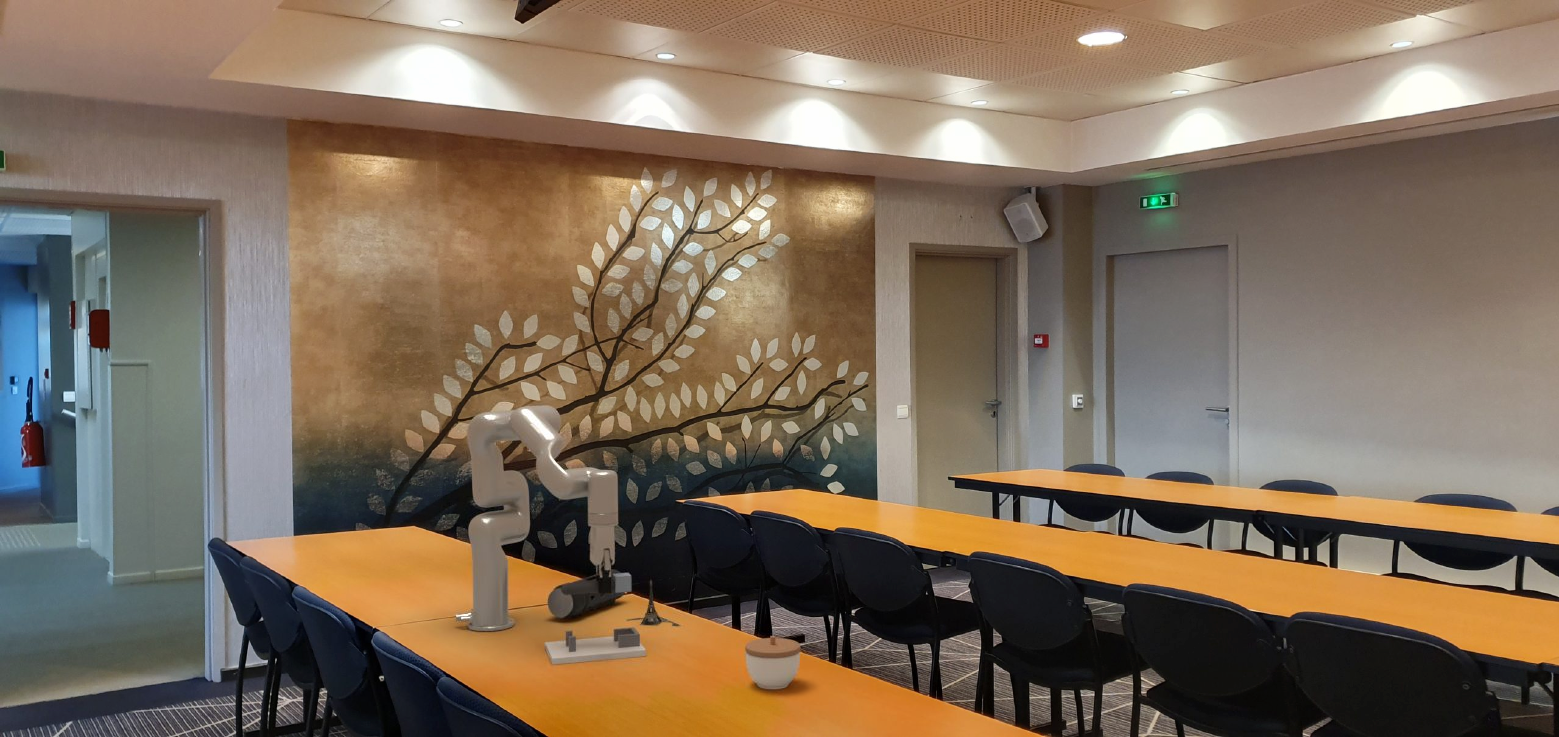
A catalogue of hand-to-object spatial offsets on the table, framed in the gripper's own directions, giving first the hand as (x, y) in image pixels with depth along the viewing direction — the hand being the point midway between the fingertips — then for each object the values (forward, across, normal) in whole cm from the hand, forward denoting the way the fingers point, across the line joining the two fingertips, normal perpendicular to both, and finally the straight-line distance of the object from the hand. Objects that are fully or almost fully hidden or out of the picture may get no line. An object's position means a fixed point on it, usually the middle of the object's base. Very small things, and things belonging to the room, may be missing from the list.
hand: (603, 590), depth 279 cm
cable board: (+15, 0, -2) cm, 15 cm away
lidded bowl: (+16, +41, +31) cm, 54 cm away
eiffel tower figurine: (+16, -25, +18) cm, 34 cm away
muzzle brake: (+15, -44, +3) cm, 47 cm away
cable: (0, 0, -2) cm, 2 cm away
